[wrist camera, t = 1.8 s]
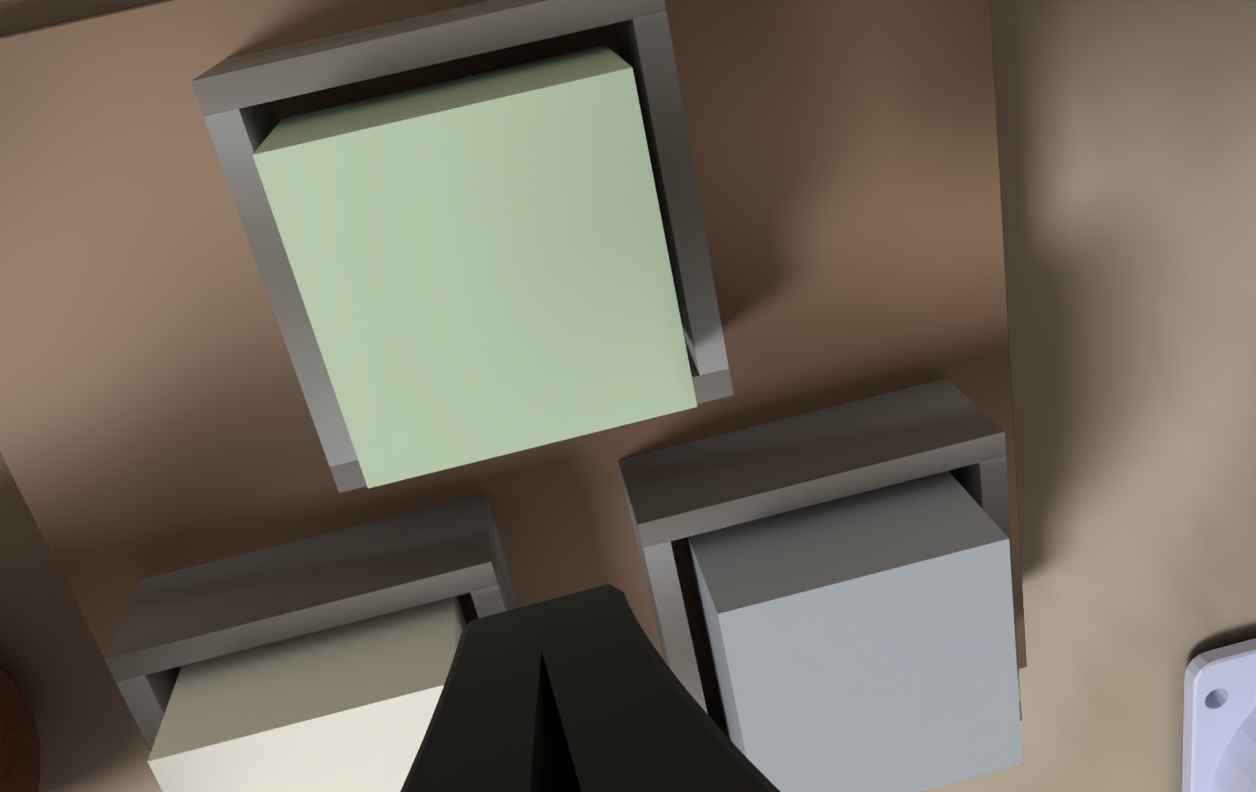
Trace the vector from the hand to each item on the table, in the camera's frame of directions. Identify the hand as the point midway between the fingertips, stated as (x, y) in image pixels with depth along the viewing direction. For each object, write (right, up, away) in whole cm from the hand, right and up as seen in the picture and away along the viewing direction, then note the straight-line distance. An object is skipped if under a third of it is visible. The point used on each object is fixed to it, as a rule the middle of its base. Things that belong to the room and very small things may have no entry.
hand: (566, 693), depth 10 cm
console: (-1, +3, +9) cm, 10 cm away
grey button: (+4, -1, +8) cm, 9 cm away
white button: (-4, -2, +7) cm, 9 cm away
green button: (-1, +5, +5) cm, 7 cm away
